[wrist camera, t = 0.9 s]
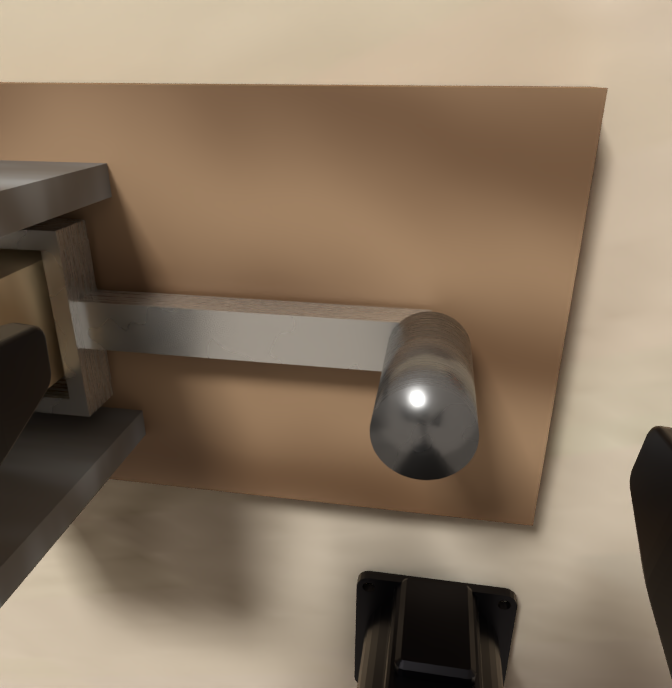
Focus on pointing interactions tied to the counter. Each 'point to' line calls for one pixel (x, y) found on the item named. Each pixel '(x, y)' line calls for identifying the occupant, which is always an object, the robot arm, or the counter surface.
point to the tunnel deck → (300, 278)
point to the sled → (265, 349)
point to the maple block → (29, 299)
